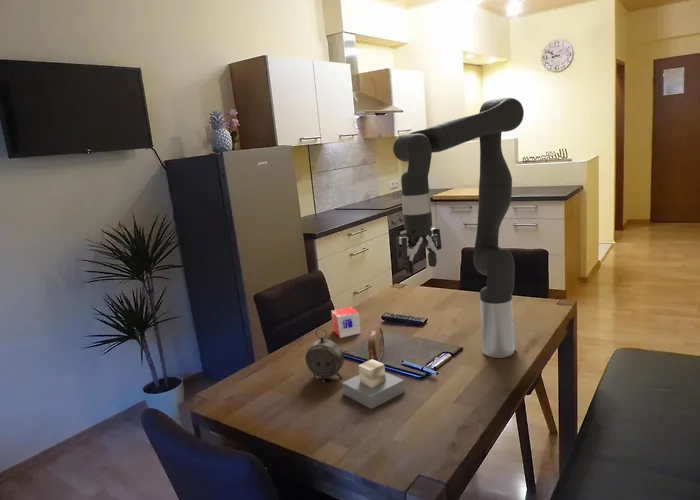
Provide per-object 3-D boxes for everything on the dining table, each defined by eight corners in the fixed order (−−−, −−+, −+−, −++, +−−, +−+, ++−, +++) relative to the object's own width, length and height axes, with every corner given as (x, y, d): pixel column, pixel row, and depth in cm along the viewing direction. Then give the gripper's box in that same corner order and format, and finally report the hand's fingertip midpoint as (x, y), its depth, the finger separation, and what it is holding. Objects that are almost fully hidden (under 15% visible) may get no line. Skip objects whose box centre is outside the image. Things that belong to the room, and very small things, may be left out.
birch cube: (373, 375, 147) (372, 359, 146) (385, 381, 143) (384, 364, 142) (360, 381, 144) (358, 365, 143) (371, 387, 140) (370, 370, 139)
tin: (378, 367, 159) (376, 341, 157) (368, 367, 160) (365, 342, 158) (385, 347, 174) (383, 323, 172) (376, 347, 174) (373, 323, 172)
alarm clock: (346, 376, 156) (340, 325, 152) (340, 384, 151) (334, 332, 147) (313, 374, 159) (306, 324, 156) (306, 382, 154) (299, 331, 151)
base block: (376, 379, 152) (375, 367, 152) (404, 393, 143) (403, 380, 142) (343, 395, 145) (342, 382, 145) (371, 410, 136) (370, 396, 135)
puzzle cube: (353, 326, 195) (351, 306, 194) (360, 333, 188) (358, 312, 186) (333, 331, 193) (330, 310, 191) (339, 338, 186) (337, 317, 184)
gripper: (407, 216, 131) (412, 278, 135) (446, 207, 139) (449, 265, 143) (387, 214, 137) (392, 274, 141) (425, 205, 145) (429, 262, 149)
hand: (421, 269), depth 142 cm, fingers open, 8 cm apart
